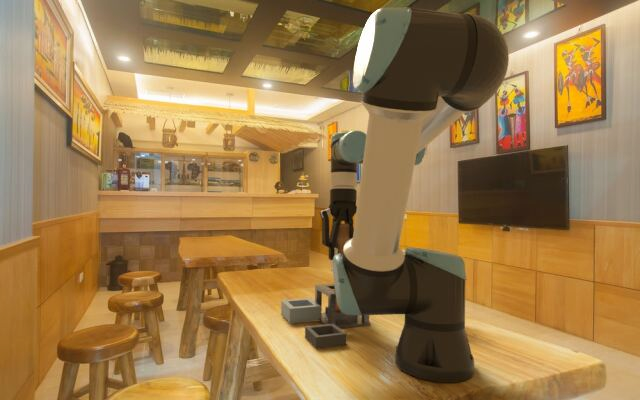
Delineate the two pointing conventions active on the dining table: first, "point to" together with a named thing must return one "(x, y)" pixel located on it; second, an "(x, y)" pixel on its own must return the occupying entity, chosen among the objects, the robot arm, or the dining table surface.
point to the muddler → (342, 238)
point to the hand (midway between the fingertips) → (341, 271)
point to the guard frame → (330, 310)
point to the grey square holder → (300, 310)
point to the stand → (325, 336)
